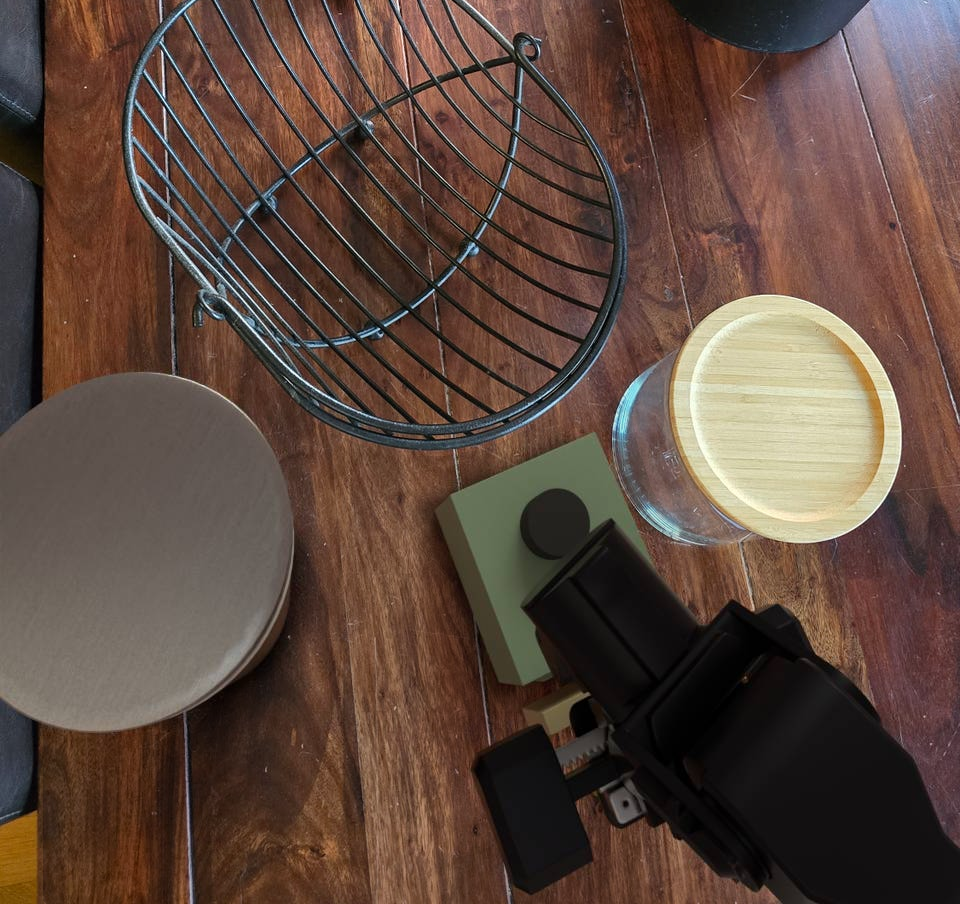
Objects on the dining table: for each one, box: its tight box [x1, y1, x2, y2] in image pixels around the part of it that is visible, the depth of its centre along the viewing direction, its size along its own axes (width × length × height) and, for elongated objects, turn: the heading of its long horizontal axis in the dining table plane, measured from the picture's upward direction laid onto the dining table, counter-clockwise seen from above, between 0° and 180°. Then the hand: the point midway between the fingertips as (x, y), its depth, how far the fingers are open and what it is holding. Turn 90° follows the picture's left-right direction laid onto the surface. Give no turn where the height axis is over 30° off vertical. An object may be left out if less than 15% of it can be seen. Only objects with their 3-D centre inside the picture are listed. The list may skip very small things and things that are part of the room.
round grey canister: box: [0, 371, 295, 734], centre depth 52 cm, size 10×10×40 cm
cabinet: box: [434, 431, 656, 687], centre depth 69 cm, size 11×10×8 cm
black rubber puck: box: [520, 488, 590, 560], centre depth 65 cm, size 4×4×2 cm
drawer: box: [521, 672, 598, 797], centre depth 67 cm, size 13×8×6 cm, turn 23°
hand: (617, 728), depth 66 cm, fingers closed, pressing on drawer
